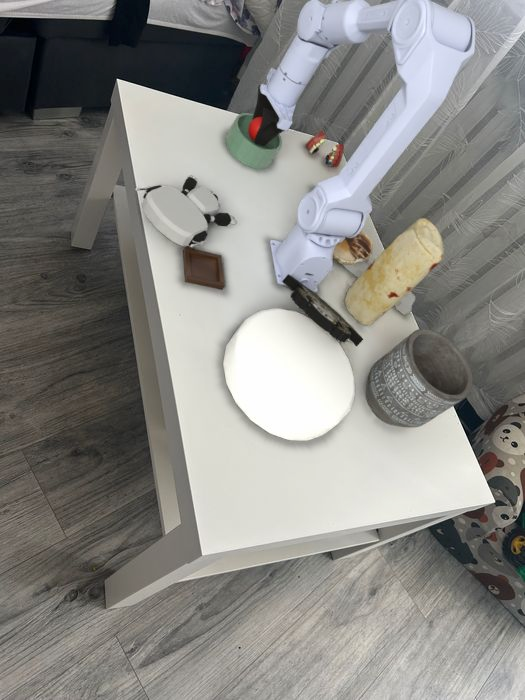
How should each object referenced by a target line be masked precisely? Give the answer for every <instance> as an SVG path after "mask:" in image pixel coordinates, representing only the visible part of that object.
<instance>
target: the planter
mask: <svg viewBox="0 0 525 700" xmlns="http://www.w3.org/2000/svg"><path fill="white" fill-rule="evenodd" d="M473 384H474V378H473V373H472V370H471V367H470V365H469V363H468V360H467V359H466V357H465V356H464V354H463V353H462V351H461V350H460V349H459V348H458V347H457V345H456V344H455V343H454V342H453V341H451V339H449V338H448V337H447V336H445V335H444V334H442V333H440V332H438V331H436V330H434V329H430V328H419V329H416V330H414V331H413V332H412V333H410V334H409V335H407V337H405V338H404V339H402V340H401V341H400V342H399V343H397V344H396V345H395V346H393V348H392V349H390V350H389V351H388V352H387V353H386V354H384V355H383V356H382V357H380V358H379V359H378V360H377V361H375V362H374V363H373V364H372V365H371V368H370V371H369V373H368V377H367V383H366V391H365V396H366V401H367V403H368V406H369V407H370V410H371V412H373V414H374V415H375V416H376V417H377V418H378V419H379V420H381V421H382V422H383V423H385V424H387V425H390V426H394V427H402V428H419V427H422V426H424V425H425V424H427V423H429V422H431V421H433V420H434V419H436V418H437V417H438V416H439V415H441V414H443V413H445V412H446V411H448V410H449V409H451V408H452V407H454V406H455V405H457V404H458V403H460V402H462V401H463V400H465V399H467V398H468V396H470V394H471V391H472V389H473Z"/></svg>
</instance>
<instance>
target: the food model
mask: <svg viewBox="0 0 525 700" xmlns="http://www.w3.org/2000/svg"><path fill="white" fill-rule="evenodd" d="M443 243H444V242H443V237H442V235H441V233H440V231H439V229H438V228H437V227H436V226H435V225H434V224H433V222H431V220H429V219H427V218H425V217H421V218H419V219H417V220H416V221H414V222H413V223H412V224H411V225H410V226H409V227H408V228H407V229H405V230H404V231H403V232H402V233H401V234H399V235H397V237H396V238H394V240H393V241H392V242H391V243H390V244H389V245H388V246H387V247H386V248H385V249H384V250H383V251H382V253H380V254H379V255H378V256H377V257H376V258H375V259H374V260H373V261H372V262H373V263H372V264H371V265H370V266H369V267H368V268H367V269H366V270H365V271H364V272H363V274H362V275H361V276H360V277H359V278H356V280H355V281H354V282H353V283H352V284H351V286H350V287H349V289H347V292H346V294H345V298H344V303H345V307H346V309H347V311H348V313H349V314H350V315H351V316H352V317H353V318H354V319H355V320H356V321H357V322H358V323H359V324H361V325H363V326H367V327H368V326H371V325H372V324H374V323H375V322H376V321H377V320H378V319H379V318H380V317H383V316H384V315H385V314H387V312H389V311H390V310H392V309H393V307H395V306H394V305H395V304H396V303H397V302H399V301H400V300H401V299H402V298H403V297H404V296H405V295H406V294H408V293H409V292H410V291H411V292H412V290H413V289H414V288H415V287H417V285H419V284H420V283H421V282H422V280H424V278H425V277H426V276H428V274H430V273H431V271H433V270H434V269H435V268H436V267H437V266H438V265H439V264H440V263H441V262H442V261H443V260H442V259H443V257H444V244H443Z"/></svg>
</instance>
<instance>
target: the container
mask: <svg viewBox="0 0 525 700" xmlns="http://www.w3.org/2000/svg"><path fill="white" fill-rule="evenodd" d="M222 365H223V372H224V377H225V383H226V386H227V387H228V390H229V392H230V394H231V396H232V398H233V400H234V402H235V404H236V405H237V406H238V407H239V409H240V410H242V412H243V413H244V414H245V415H246V416H247V418H248V419H249V420H250V421H251V422H253V423H254V424H256V425H257V426H258V427H260V428H261V429H262V430H264V431H265V432H267V433H268V434H271V435H274V436H276V437H279V438H281V439H284V440H287V441H307V442H308V441H310V440H314V439H316V438H319V437H322V436H324V435H325V434H327V433H328V432H329V431H330V430H332V429H334V428H335V427H336V426H337V425H338V424H339V423H341V422H342V420H344V419H345V418H346V417H347V416H348V414H350V411H351V409H352V406H353V403H354V400H355V399H356V393H355V392H356V379H355V376H354V375H355V374H354V371H353V368H352V365H351V361H350V359H349V358H348V356H347V354H346V352H345V350H344V348H343V347H342V345H341V343H340V342H339V341H338V340H336V339H335V338H334V337H332V336H331V335H330V333H329V332H327V331H325V330H324V329H322V328H321V327H320V326H318V325H317V324H316V323H315V322H314V321H313V320H312V319H311V318H310V317H309V316H308V315H306V314H303V313H300V312H298V311H297V310H296V311H295V310H293V309H285V308H280V307H274V308H268V309H262V310H258V311H257V312H255V313H253V314H252V315H250V316H248V317H247V318H245V320H244V321H243V322H242V323H241V324H240V326H239V327H238V328H237V330H236V331H235V332H234V333H233V335H232V337H231V338H230V340H229V341H228V343H227V344H226V346H225V350H224V355H223V362H222Z"/></svg>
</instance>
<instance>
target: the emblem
mask: <svg viewBox="0 0 525 700" xmlns="http://www.w3.org/2000/svg"><path fill="white" fill-rule="evenodd" d="M282 282H283V283H284V284H285V285H287V286H286V287H288V288H289V289H291V291H292V292H291V293H290V298H291V300H292V301H293V302H294V304H295V306H298V308H299V309H300V310H301V311H303V312H304V313H305V315H306V316H307V317H310V318H311V319H312V320H313V321H314V322H315V323H316V324H317V325H318V326H320V327H321V328H322V329H324V330H325V331H327V332H329V333H330V335H331V336H332V337H334V338H335V339H336V340H337V342H339V343H343V344H345V343H346V342H347V341H348V340H349V341H350V342H351V343H352V344H353V345H354V346H356V347H359V345H360V344H361V343H362V342H363V341H364V338H363V337H362V335H360V334H359V332H358V331H357V330H356V329H355V328H354V327H353V326H352V325H351V324H350V323H348V322H347V320H346V319H345V318H344V317H343V316H342V315H341V314H340V313H339V312H338V311H337V310H336V309H334V308H333V307H332V306H331V305H330V304H328V302H327V301H325V300H324V299H323V298H322V297H321V296H319V295H318V294H317V292H313V291H311V290H310V289H308V288H307V287H306V286H304V285H303V284H302V283H301V282H299V281H298V280H296V279H295V278H293V277H292V276H291V275H289V274H288V275H287V276H286V277H285V279H284V280H283V281H282ZM285 285H284V286H285Z"/></svg>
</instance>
